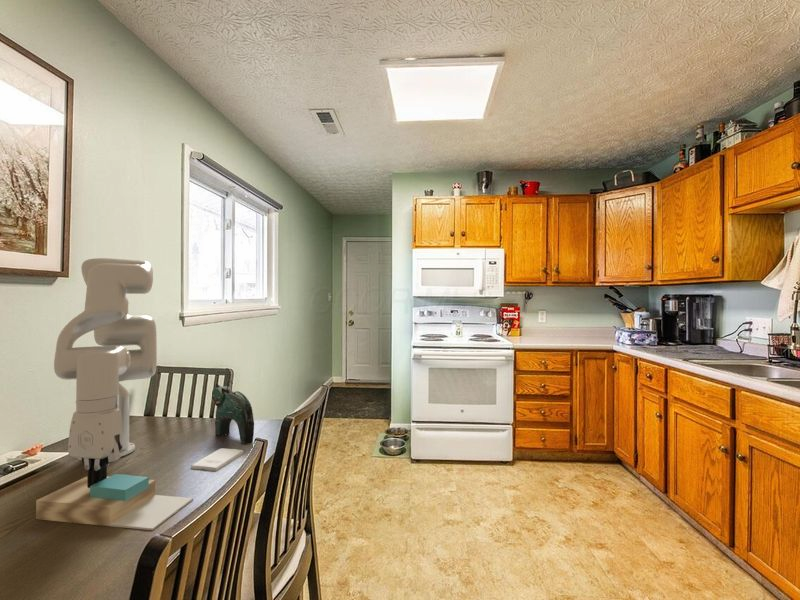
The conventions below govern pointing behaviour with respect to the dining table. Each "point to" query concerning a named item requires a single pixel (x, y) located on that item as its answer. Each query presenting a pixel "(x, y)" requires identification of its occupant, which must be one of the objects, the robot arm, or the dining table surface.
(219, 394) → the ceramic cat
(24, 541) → the dining table surface
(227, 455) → the external hard drive
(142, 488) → the teal rectangular slab
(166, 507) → the mat
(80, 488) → the tan wooden flat block
